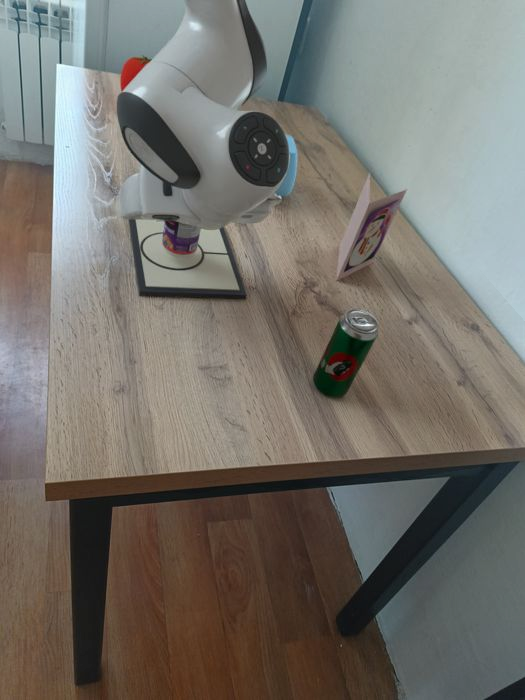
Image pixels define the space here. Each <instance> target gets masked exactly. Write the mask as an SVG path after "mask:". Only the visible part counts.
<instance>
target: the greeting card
mask: <svg viewBox="0 0 525 700" xmlns="http://www.w3.org/2000/svg"><path fill="white" fill-rule="evenodd" d="M407 191H408V188H406V189H403V190H401V191H397V192H395V193H393V194H389V195H387V196H384V197H382V198H379V199H376V200H374V201H371V172H369V173H368V175H367V178H366V180H365V182H364V185H363V188H362V190H361V192H360V194H359V198H358V200H357V202H356V205H355V207H354V209H353V212H352V215H351V217H350V220H349V222H348V223H347V227H346V229H345V231H344V234H343V236H342V239H341V241H340V244H339V247H338V257H337V270H336V272H337V273H336V281H339V280H341V279H344V278H345V277H347V276H350V275H351V274H354V273H356V272H358V271H359V270H361V269H363V268H366V267H367V266H369V265H372V264H373V263H374V261H375V259H376V257H377V255H378V253H379V251H380V248H381V246H382V244H383V242H384V240H385V237H386V235H387V234H388V232H389V229H390V228H391V225H392V223H393V221H394V219H395V216H396V214H397V213H398V210H399V208H400V206H401V204H402V202H403V200H404V197H405V195H406V193H407Z"/></svg>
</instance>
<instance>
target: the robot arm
mask: <svg viewBox="0 0 525 700" xmlns="http://www.w3.org/2000/svg"><path fill="white" fill-rule="evenodd" d="M184 3H185V10H184V15H183V17H182V21H181V23H180V24H179V27H178V29H177V30H176V32H175V34H174V35H173V36H172V37H170V39H169V40H168V42H167V43H166V44H165V45H164V46H163V47H162V48H161V49H160V50H159V51H158V52H157V54H155V56H154V57H152V58H151V59H152V60H151V61H150V62H149V63H148V64H147V65H146V66H145V67H144V68H143V69H142V70H141V71H140V72H139V73H138V74H137V75H136V77H135V78H134V79H133V80H132V81H131V82H130V83H129V84H128V85H127V87H126V88H125V89H124V90H123V91H122V92H120V93H119V94H118V95H117V97H116V98H117V99H116V116H117V122H118V126H119V129H120V133H121V136H122V140H123V141H124V144H125V146H126V147H127V150H128V151H129V152H130V154H131V155H132V156H133V157H134V159H135V160H136V161H137V162H138V163H139V166H138V167H139V168H138V172H137V173H134V174H131V175H130V176H129V177H128V178H127V179H126V180H125V181H124V182H123V183H122V185H121V186H120V188H119V190H118V210H119V216H120V218H122V219H123V220H128V219H136V220H156V221H159V222H167V221H177V222H181V223H184V224H188V225H194V226H196V227H198V228H201V229H205V230H217V229H221V228H226V227H227V226H229V225H230V224H253V225H254V224H258V223H261V222H263V221H265V220H266V219H267V218H268V217H269V216H270V215H271V214H272V207H275V206H278V205H280V204H281V203H282V200H283V198H282V196H280V195H276V194H275V193H274V192H275V191H276V190H277V189H278V188H279V186H280V185H281V183H282V182H283V180H284V178H285V176H286V173H287V170H288V166H289V159H290V151H289V143H288V139H287V136H286V135H287V134H286V132H285V130H284V128H283V127H282V125H281V124H280V123H279V122H278V121H277V120H276V119H275V118H274V117H273V116H271V115H270V114H269V113H267V112H264V111H260V110H240V111H239V110H238V109H240V108H241V107H243V106H244V105H245V103H247V102H248V100H250V99H251V98H252V96H254V95H255V94H256V93H257V92H259V90H260V89H261V88H262V87H263V86H264V84H265V81H266V78H267V75H268V60H267V59H268V57H267V50H266V46H265V43H264V40H263V36H262V35H261V32H260V30H259V28H258V26H257V25H256V22H255V21H254V19H253V16H252V15H251V13H250V10H249V7H248V4H247V1H246V0H184ZM268 114H269V115H268Z"/></svg>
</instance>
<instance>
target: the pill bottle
mask: <svg viewBox="0 0 525 700" xmlns="http://www.w3.org/2000/svg"><path fill="white" fill-rule="evenodd" d="M200 231H201V228H198V227H196V226H194V225H188V224H184V223H181V222H177V221H167V222H165V223H164V230H163V237H162V247H163V249H164V251H165V252H167V253H168V254H170V255H172V256H174V257H178V258H187V257H191V256H193V255H194V254H195V253H196V250H197V246H198V241H199V236H200Z"/></svg>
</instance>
